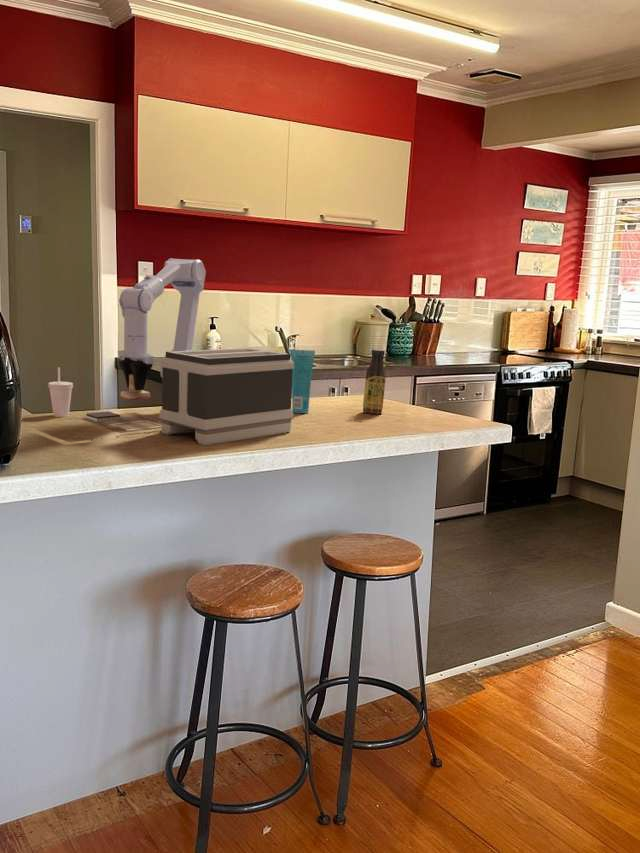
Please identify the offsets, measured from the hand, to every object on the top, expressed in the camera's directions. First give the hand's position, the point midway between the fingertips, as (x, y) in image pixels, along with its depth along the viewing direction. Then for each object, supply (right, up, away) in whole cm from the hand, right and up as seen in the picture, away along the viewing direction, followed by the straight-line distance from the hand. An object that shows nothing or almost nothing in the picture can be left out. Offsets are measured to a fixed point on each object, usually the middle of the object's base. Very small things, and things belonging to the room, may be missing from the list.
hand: (135, 388), depth 202 cm
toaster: (+25, -11, +4) cm, 28 cm away
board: (-3, -9, +6) cm, 12 cm away
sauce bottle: (+64, -6, +43) cm, 78 cm away
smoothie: (-23, -8, +10) cm, 26 cm away
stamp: (0, -2, 0) cm, 2 cm away
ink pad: (-11, -8, +8) cm, 15 cm away
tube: (+41, -6, +38) cm, 56 cm away
